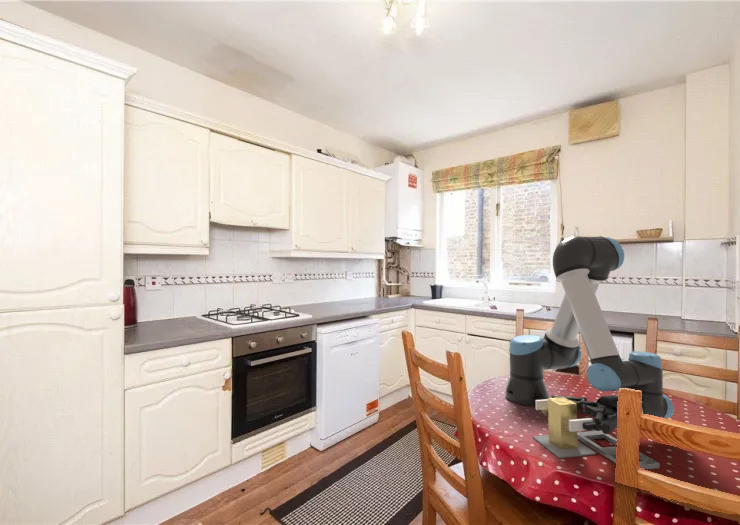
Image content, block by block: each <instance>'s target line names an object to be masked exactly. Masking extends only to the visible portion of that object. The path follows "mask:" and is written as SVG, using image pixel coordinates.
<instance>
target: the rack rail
mask: <svg viewBox="0 0 740 525" xmlns="http://www.w3.org/2000/svg"><path fill="white" fill-rule="evenodd" d="M577 439H578V441H579V442H580V443H582V444H584V445H585V446H587V447H588V448H590V449H591V450H593V451H594V452H596V453H598V454H600V455H602V456H603V457H604V458H606V457H607V459H608V458H609V459H610V460H609V459H608V460H609V461H611V460H612V461H613V463H614V464H616V463H615V459H616V443H617V440H618V439H617V438H616V437H614V436H613V435H611V434H610V433H609V434H604V433H603V431H601V430H600V431H596V430H585V431H577ZM598 439H605V440H606V441H607V442H609V443H611V442H612V443H611V444H613V443H614V444H613V445H614V446H613V445H612V446H605V447H602V446H600V445H599V444H597V443H596V442H594V441H593V440H598ZM638 460H639V466H640V467H641V468H644V469H647V470H655V469H660V462H658V461H657V460H655V459H653V458H651V457H649V456H648V455H646V454H644V453H642V452H641V451H639V459H638ZM612 461H611V462H612Z"/></svg>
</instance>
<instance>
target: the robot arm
mask: <svg viewBox="0 0 740 525" xmlns="http://www.w3.org/2000/svg"><path fill="white" fill-rule="evenodd" d="M552 255H553V256H552V269H553V272H554V275H555V278H556V281H559V282H561V285H562V287H563V290H564V296H563V299H562V301H561V304H560V306H559V309H558V312H557V314H556V317H555V320H554V321H553V324H552V327H550V328H548V329H546V330H545V333H544V336H543V338H542V337H541V336H539V335H536V334H535V335H534V334H527V335H526V334H525V335H524V334H522V335H517V336H514V337H513V338H511V339H510V341H509V348H508V351H509V379H508V382H507V384H506V388H505V398H506V399H507V400H509V401H511V402H513V403H516V404H519V405H522V406H528V407H529V406H530V407H535V410H536V411H542V410H547V409H548V398H559V397H564V398H566V399H568V400H570V401H572V402H574V403H576V404H577V412H580V414H583V415H590V416H591V417H593V418H591V417H587V418H577V419H574V420H569V431H571V432H574V431H577V432H586V431H590V430H596V431H600V430H601V431H603V433H604V434H609V435H610V434H611V432H613V431H614V430H616V429H618V427H617V401H618V395H619V394H614V395H602V396H600V397H598V399H597V400H596V401H594V400H590V401H588V398H587V397H576V396H574V397H573V396H566V395H565V396H563V395H553V394H552V395H551V397H550V396H549V392H548V390H547V386H546V384H545V380H544V371H547V370H548V371H549V370H558V369H559V370H560V369H562V370H564V369H569V368H572V367H575V366H576V365H578V364H579V362H580V361H581V358H582V351H581V345H580V341H579V339H578V335H579V333H580V336H581V339H582V341H583V343H584V348H585V349H586V352H587V355H588V358H589V361H590V363H591V364H590V365H589V366H588V367H587V368H586V379H587V382H589V384H590V385H591V386H592V388H594V389H595V390H598V391H601V392H617V391H620V390H619V388H628V389H635V390H641V391H642V413H643V414H649V415H654V416H658V417H663V418H668V419H670V418H672V417H673V415H674V413H675V407H674V405H673V403H672V400H671V399H670V398H669V396H668V395H666V394H664V382H663V381H664V378H663V373H664V369H663V365H662V363H663V362H662V358H661V356H660V355H659V354H656V353H654V352H649V351H648V352H647V351H639V350H638V351H630V353H629V354H628V360H622V358H621V355H620V354H619V351H618V349H617V346H616V344H615V341H614V338H613V336H612V334H611V330H610V328H609V326H608V323H607V320H606V318H605V316H604V313H603V310H602V308H601V306H600V303H599V301H598V299H597V296H596V293H597V291H598V288H599V285H600V284H601V283H603V282H606V281H607V280H608V278H609V275H610V273H611V272H614V271H616V270H618V269H620V267H621V266H622V265H623V264H624V261H625V251H624V249H623V246H622V245H621V243H620V242H619V241H617V240H616V239H614V238H613V237H612V238H611V237H607V236H601V235H599V236H580V235H574V236H570V237H566V238H565V239H563V240H561V241H560V242H559V243H558V244H557V245H556V247H555V249H554V251H553V254H552Z"/></svg>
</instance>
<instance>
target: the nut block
mask: <svg viewBox="0 0 740 525" xmlns="http://www.w3.org/2000/svg"><path fill="white" fill-rule="evenodd" d="M574 419H578V411H577V404H576V403H574V402H572V401H570V400H568V399H566V398H564V397H559V398H551V397H549V398H548V411H547V420H548V435H549V441H550V442H552V443H553V444H554V445H556V446H557V447H558V448H560V449H561V450H562V449H572V448H578V441H579V440H578V439H577V432H578V431H574V432H571V431H569V420H574Z"/></svg>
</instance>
